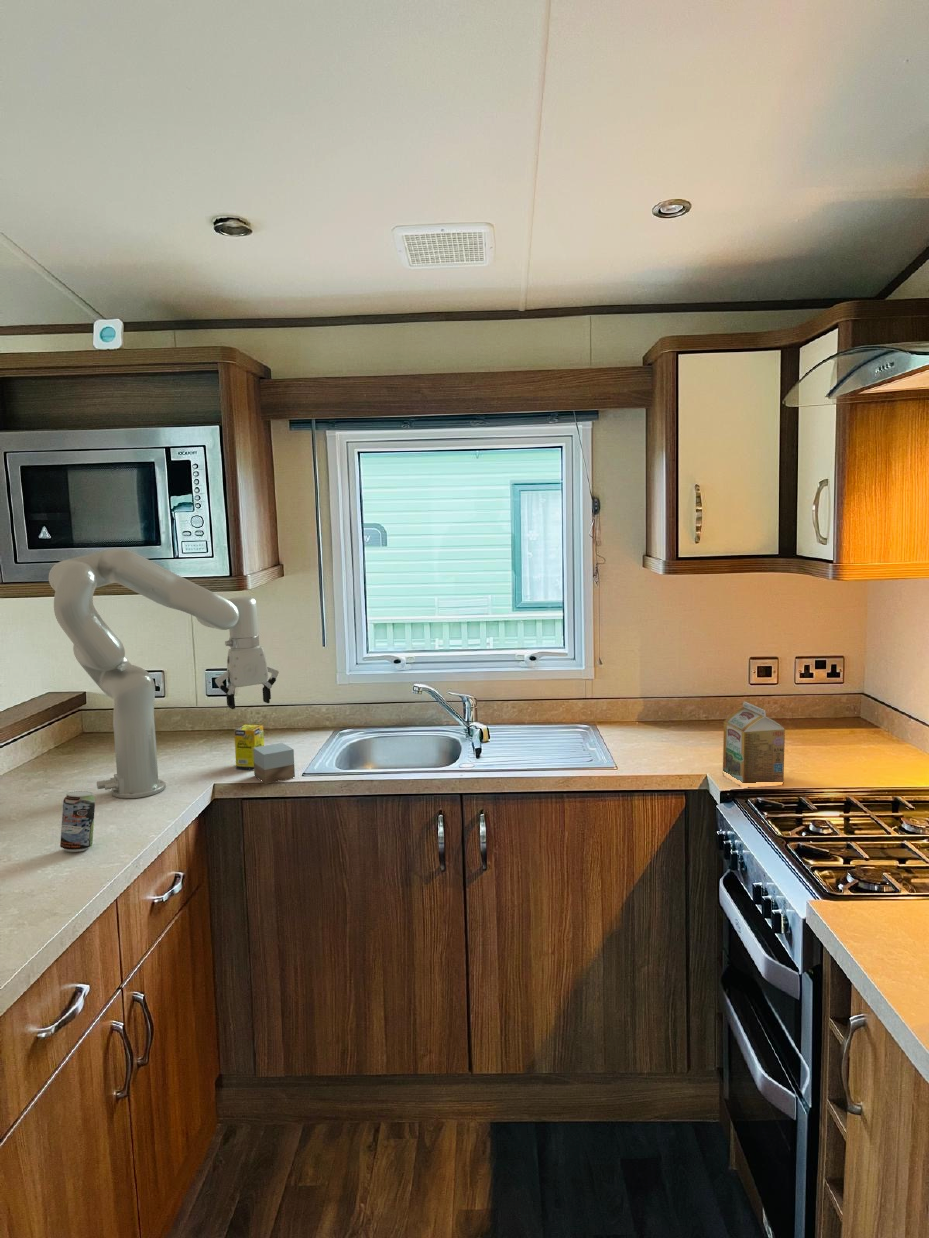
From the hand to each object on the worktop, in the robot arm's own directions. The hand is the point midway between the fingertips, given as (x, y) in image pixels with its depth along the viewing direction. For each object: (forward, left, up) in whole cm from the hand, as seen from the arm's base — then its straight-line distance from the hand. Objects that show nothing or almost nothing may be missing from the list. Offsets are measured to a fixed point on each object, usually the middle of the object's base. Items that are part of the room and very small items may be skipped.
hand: (249, 705), depth 229 cm
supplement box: (-1, 0, -17) cm, 17 cm away
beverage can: (-50, -35, -17) cm, 63 cm away
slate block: (+1, -13, -13) cm, 19 cm away
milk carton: (+96, -89, -17) cm, 132 cm away
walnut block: (+1, -13, -17) cm, 22 cm away
